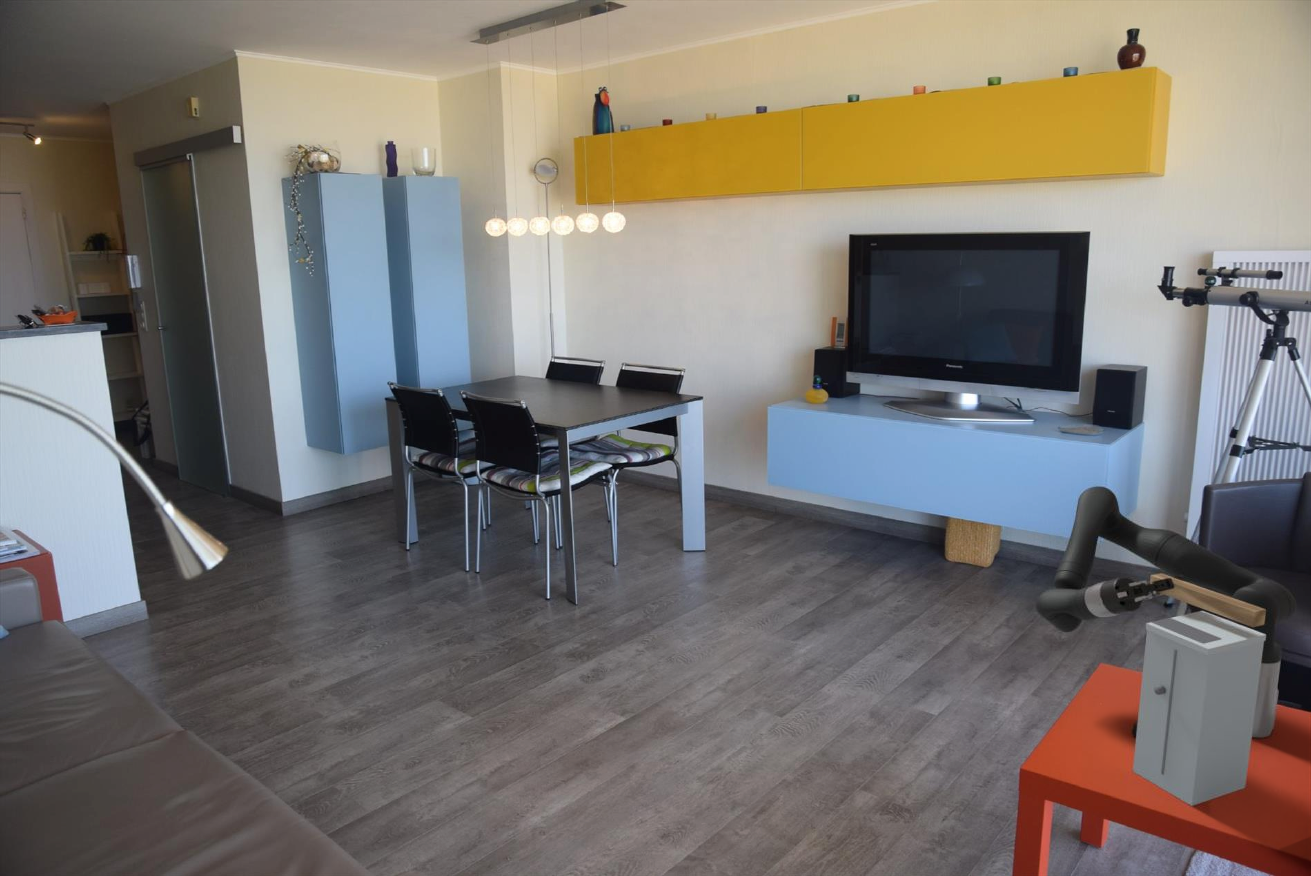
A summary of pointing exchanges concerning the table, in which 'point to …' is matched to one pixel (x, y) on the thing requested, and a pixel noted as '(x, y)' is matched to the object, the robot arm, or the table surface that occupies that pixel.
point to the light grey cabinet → (1197, 705)
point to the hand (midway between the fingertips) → (1177, 581)
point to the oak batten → (1214, 602)
